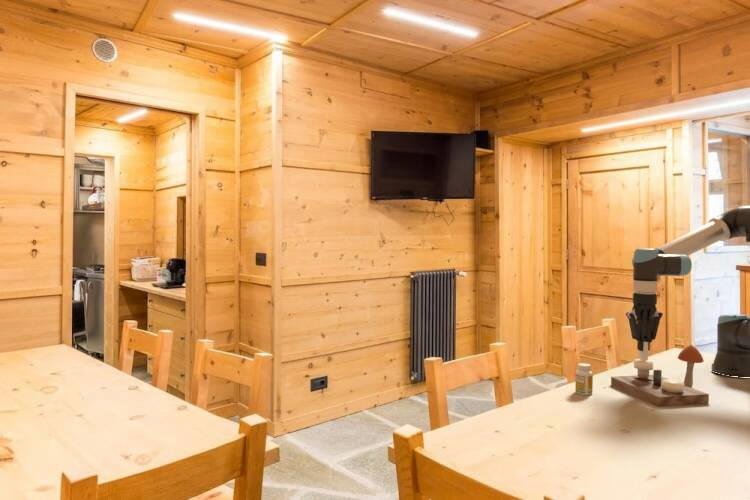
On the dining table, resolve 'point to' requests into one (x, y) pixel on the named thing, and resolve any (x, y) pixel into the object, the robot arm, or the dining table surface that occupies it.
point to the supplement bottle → (584, 379)
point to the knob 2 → (672, 386)
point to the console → (658, 391)
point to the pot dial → (657, 377)
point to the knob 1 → (643, 367)
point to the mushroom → (690, 362)
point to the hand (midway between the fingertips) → (643, 359)
